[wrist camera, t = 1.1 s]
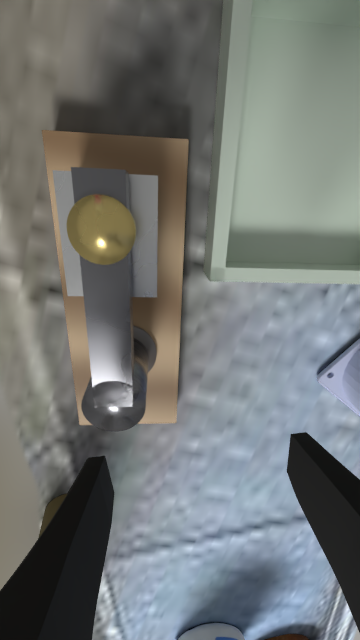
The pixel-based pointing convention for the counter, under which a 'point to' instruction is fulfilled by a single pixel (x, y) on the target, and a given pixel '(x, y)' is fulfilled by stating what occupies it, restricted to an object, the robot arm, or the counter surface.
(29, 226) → the counter surface
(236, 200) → the tray
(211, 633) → the supplement tub
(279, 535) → the counter surface
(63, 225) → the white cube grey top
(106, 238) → the lever
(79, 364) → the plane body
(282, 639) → the bread roll
